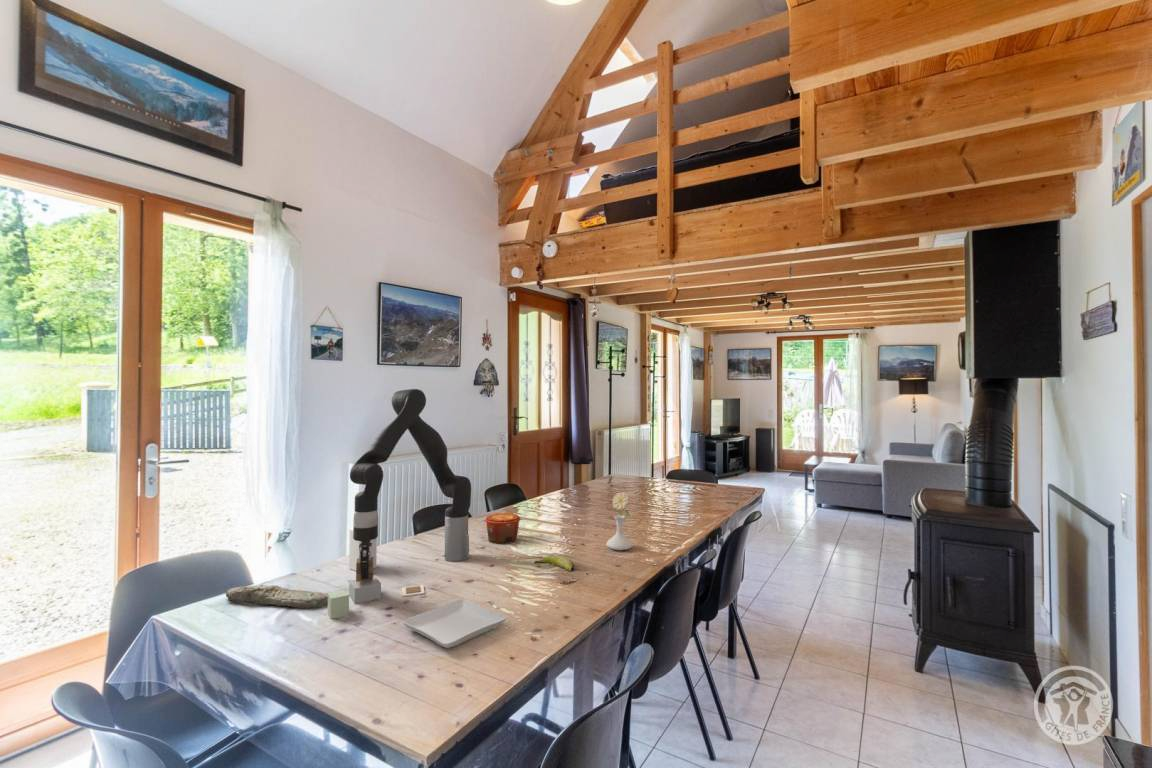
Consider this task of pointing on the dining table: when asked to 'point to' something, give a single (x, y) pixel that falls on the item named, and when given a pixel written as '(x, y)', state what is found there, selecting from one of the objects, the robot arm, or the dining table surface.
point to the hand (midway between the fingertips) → (365, 575)
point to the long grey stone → (276, 596)
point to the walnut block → (358, 570)
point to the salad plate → (454, 622)
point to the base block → (364, 590)
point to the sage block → (338, 604)
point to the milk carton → (355, 551)
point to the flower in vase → (620, 524)
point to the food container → (502, 527)
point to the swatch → (413, 591)
